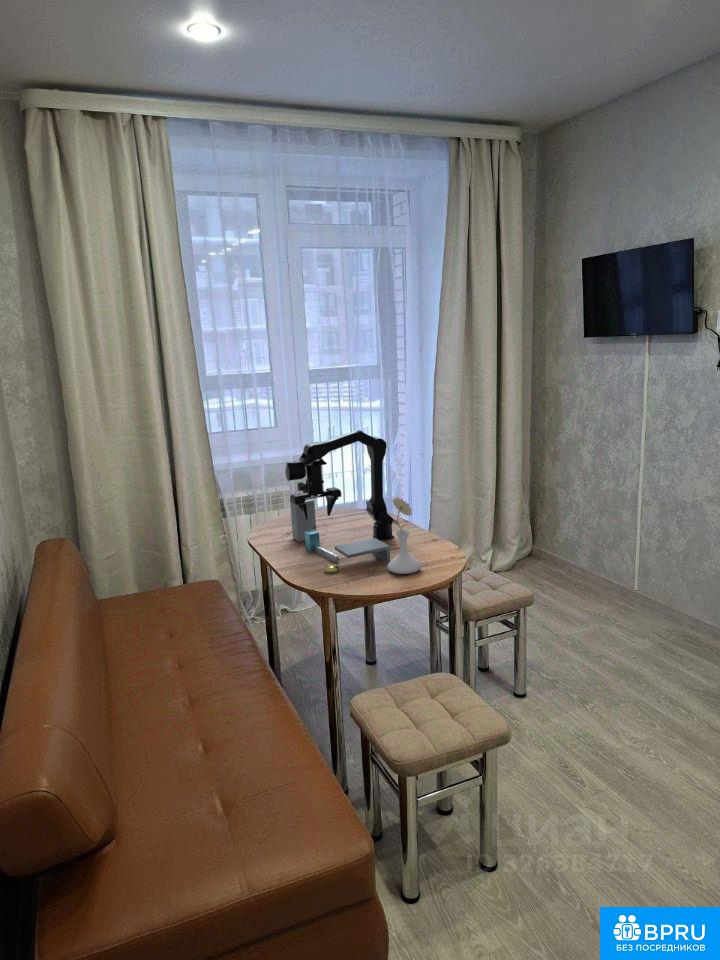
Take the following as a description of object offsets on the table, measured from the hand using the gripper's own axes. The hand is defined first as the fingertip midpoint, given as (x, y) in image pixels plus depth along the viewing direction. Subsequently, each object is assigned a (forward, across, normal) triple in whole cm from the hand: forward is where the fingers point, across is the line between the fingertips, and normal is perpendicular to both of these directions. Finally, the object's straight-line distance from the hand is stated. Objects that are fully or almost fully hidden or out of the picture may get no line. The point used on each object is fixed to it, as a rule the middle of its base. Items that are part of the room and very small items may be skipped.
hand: (317, 517), depth 248 cm
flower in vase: (+12, -14, +39) cm, 43 cm away
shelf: (+12, -6, +24) cm, 28 cm away
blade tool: (+12, +2, +9) cm, 15 cm away
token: (+12, +7, +26) cm, 29 cm away
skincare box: (+12, 0, -15) cm, 19 cm away
